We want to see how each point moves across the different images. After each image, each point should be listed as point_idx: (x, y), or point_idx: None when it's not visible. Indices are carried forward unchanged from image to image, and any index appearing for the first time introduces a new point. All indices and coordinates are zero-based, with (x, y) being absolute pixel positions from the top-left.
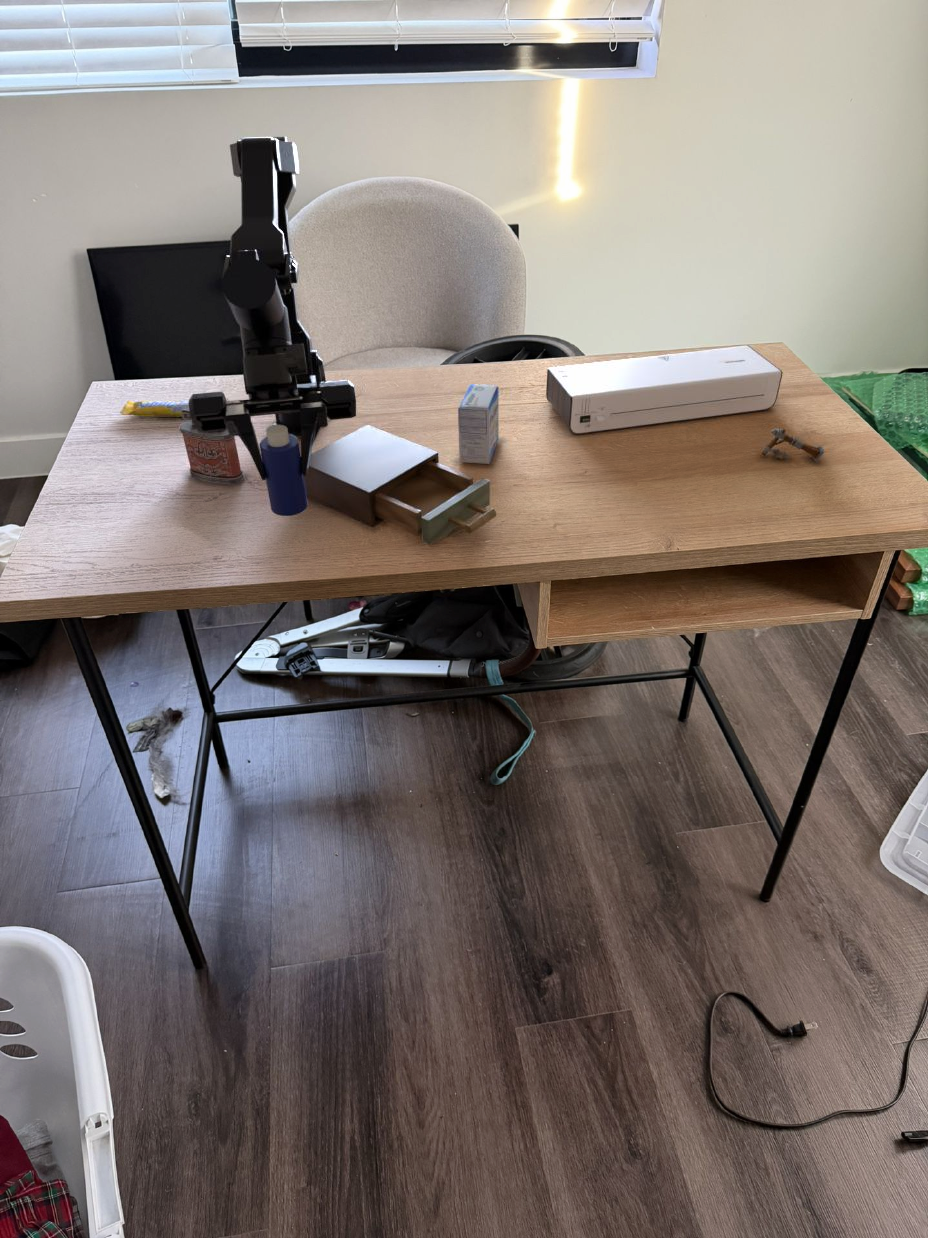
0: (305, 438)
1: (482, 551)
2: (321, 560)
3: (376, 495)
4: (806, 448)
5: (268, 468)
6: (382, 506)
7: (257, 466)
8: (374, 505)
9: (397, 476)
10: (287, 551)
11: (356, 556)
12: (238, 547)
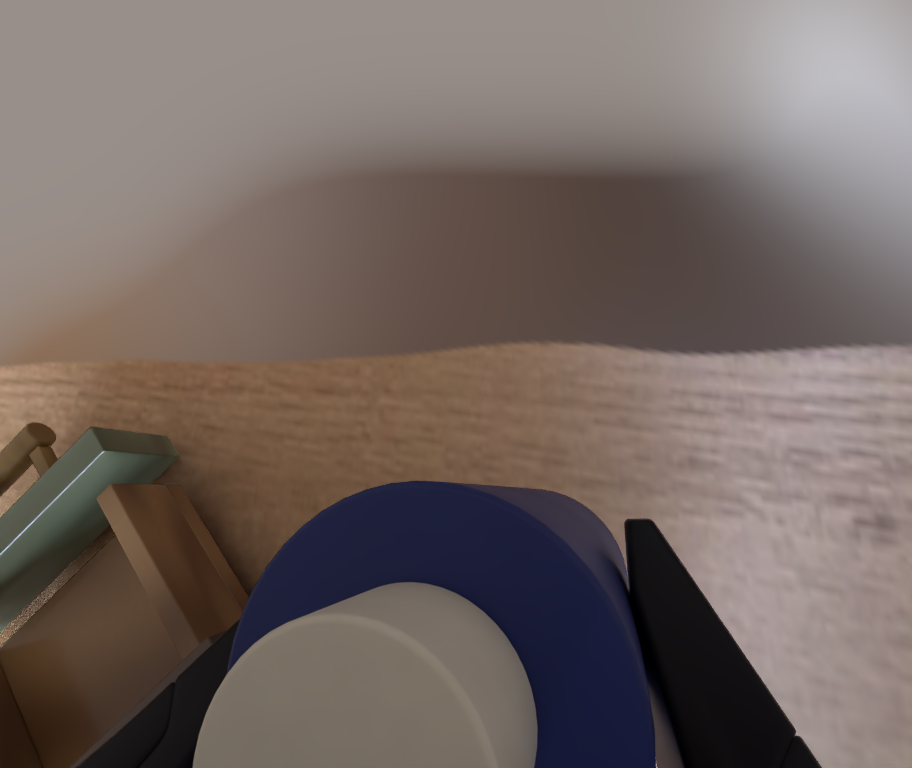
0: (164, 736)
1: (75, 415)
2: (472, 442)
3: None
4: None
5: (582, 530)
6: (216, 614)
7: (683, 576)
8: None
9: (91, 746)
10: None
11: (367, 446)
12: (791, 589)
